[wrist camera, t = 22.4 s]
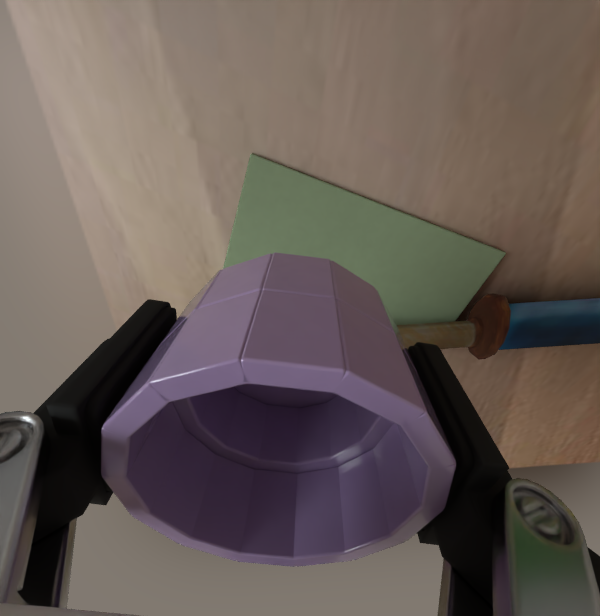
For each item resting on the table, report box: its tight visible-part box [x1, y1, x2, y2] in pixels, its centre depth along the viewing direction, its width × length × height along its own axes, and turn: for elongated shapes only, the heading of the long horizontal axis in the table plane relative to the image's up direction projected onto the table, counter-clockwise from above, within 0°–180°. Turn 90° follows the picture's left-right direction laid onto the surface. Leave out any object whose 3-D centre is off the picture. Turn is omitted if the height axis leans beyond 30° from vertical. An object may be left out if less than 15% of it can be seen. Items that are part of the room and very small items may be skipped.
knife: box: [397, 294, 600, 359], centre depth 20 cm, size 24×3×5 cm
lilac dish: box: [101, 252, 456, 566], centre depth 8 cm, size 7×7×5 cm
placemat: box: [223, 153, 506, 325], centre depth 22 cm, size 16×20×1 cm
